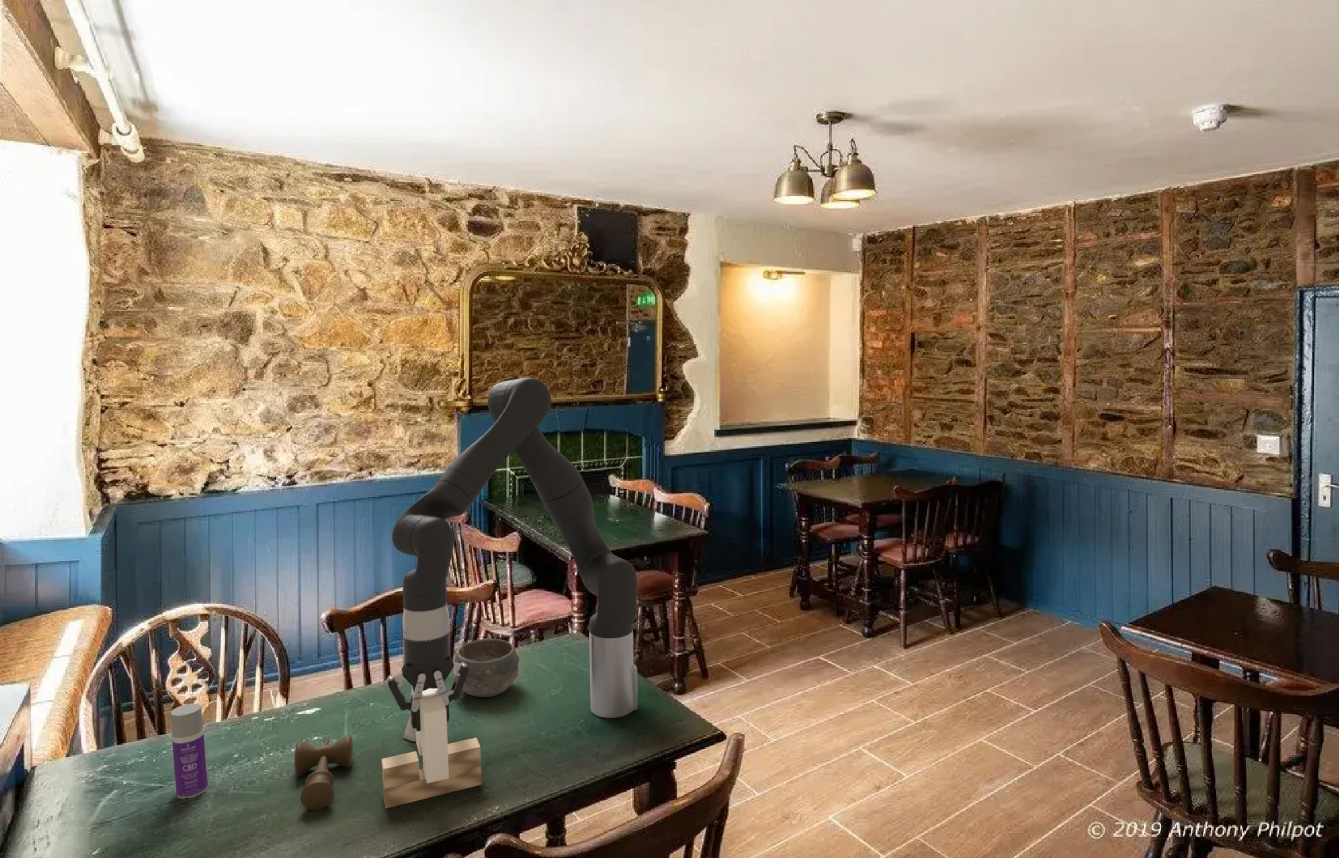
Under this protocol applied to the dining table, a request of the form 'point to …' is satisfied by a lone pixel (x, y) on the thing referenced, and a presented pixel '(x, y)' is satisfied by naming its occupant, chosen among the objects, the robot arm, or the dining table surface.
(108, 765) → the dining table surface
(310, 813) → the dining table surface
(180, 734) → the container
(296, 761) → the kendama
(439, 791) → the oak base
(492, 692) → the bowl
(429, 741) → the white rectangular block
